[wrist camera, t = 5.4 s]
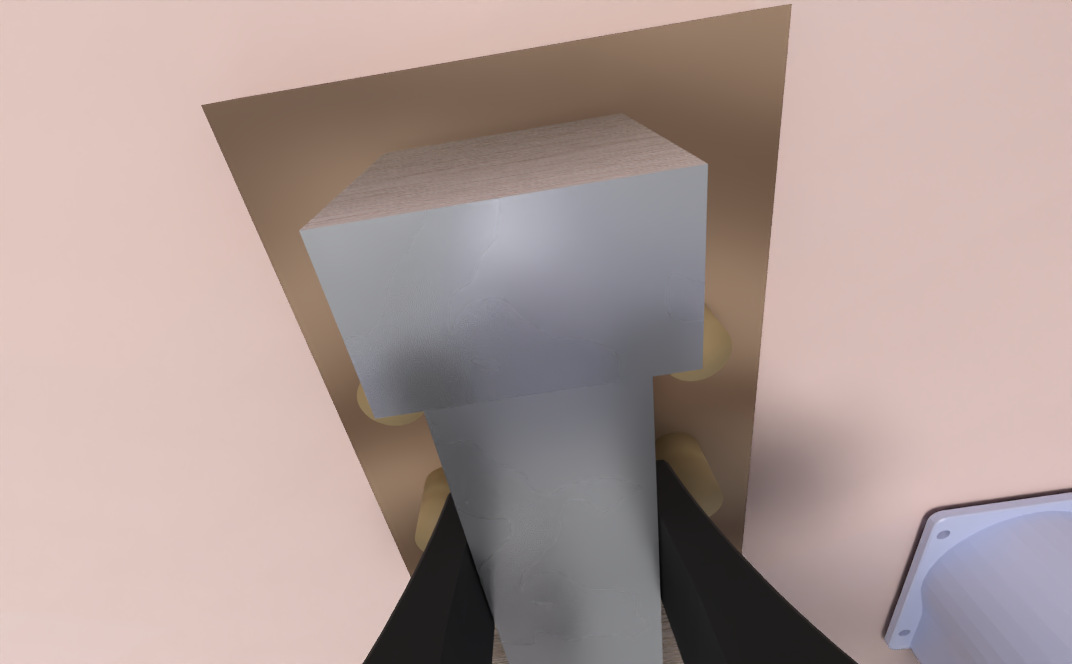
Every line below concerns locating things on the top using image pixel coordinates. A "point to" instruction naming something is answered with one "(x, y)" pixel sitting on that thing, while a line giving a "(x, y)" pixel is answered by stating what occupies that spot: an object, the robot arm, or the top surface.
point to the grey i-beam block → (533, 357)
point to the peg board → (517, 104)
